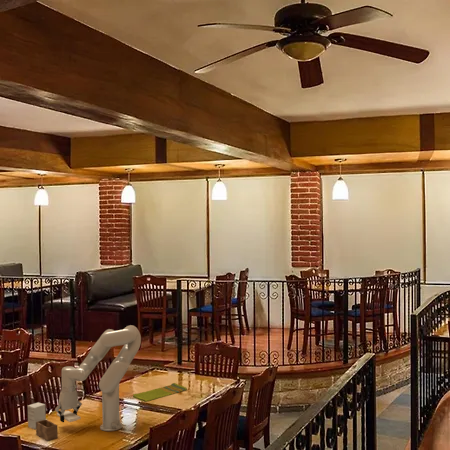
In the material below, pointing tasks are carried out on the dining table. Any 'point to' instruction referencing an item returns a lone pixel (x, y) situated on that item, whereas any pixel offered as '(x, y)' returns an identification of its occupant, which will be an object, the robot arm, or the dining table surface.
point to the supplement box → (36, 414)
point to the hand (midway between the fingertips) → (68, 419)
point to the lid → (70, 416)
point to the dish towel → (159, 392)
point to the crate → (46, 430)
